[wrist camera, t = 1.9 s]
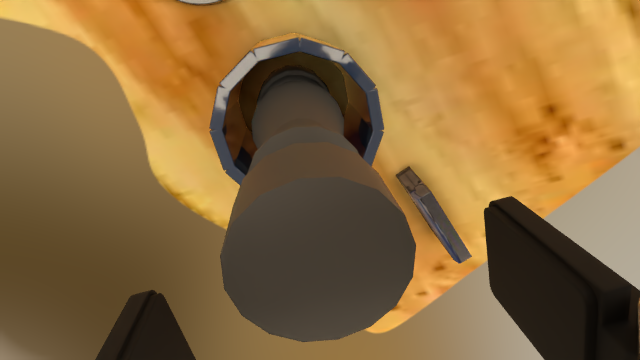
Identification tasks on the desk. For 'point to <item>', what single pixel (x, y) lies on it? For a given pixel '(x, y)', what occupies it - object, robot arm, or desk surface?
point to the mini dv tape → (433, 215)
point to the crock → (227, 116)
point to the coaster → (200, 2)
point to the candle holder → (312, 221)
